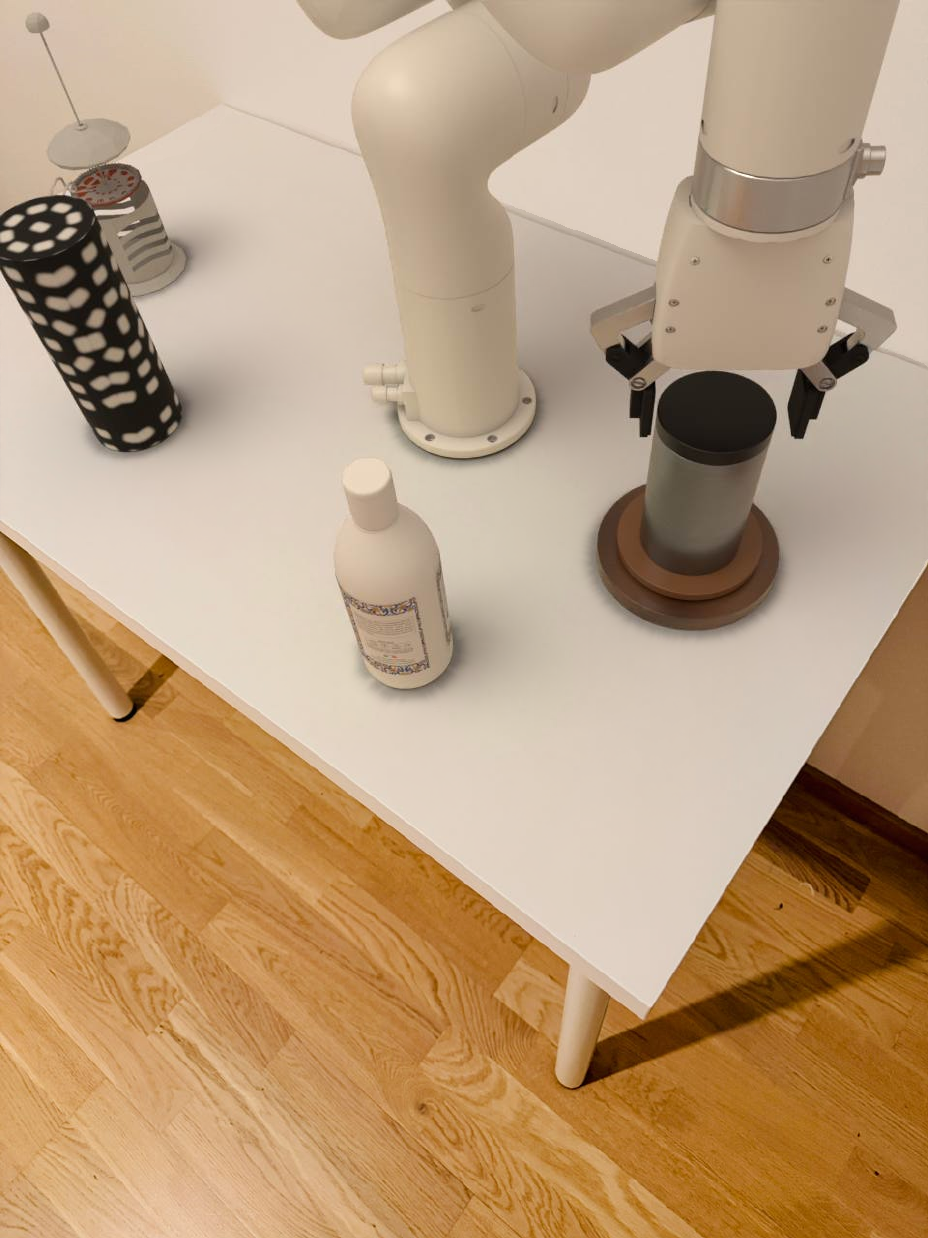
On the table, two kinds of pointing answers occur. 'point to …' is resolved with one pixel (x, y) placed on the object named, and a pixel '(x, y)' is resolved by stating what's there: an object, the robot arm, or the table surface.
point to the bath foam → (391, 581)
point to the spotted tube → (87, 320)
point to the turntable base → (678, 610)
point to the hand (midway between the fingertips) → (718, 422)
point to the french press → (114, 194)
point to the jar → (700, 488)
